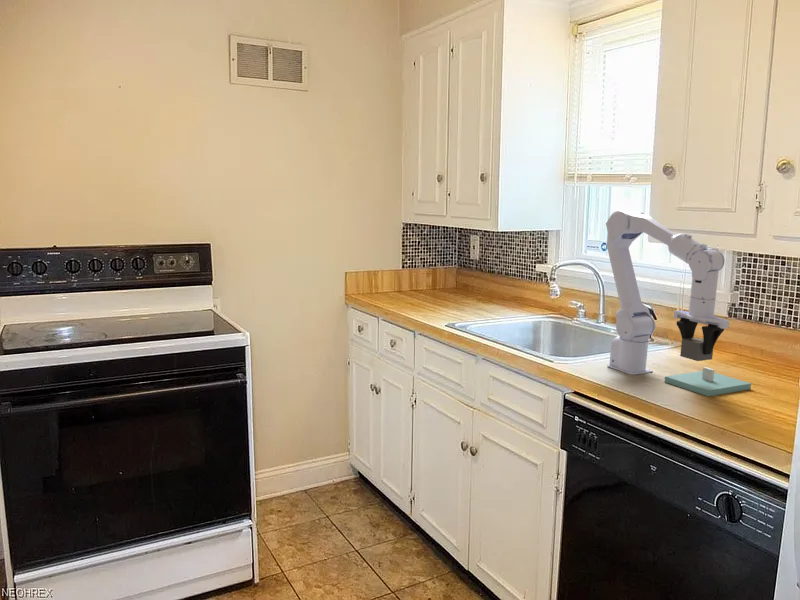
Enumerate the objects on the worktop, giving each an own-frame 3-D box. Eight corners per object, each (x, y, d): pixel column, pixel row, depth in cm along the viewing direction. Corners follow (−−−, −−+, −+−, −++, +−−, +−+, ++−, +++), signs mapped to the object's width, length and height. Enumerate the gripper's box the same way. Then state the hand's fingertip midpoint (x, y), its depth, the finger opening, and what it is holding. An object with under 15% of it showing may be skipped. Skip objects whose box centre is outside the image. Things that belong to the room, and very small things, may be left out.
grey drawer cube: (680, 356, 163) (682, 337, 162) (694, 354, 166) (696, 336, 165) (697, 361, 159) (699, 342, 158) (712, 359, 161) (714, 340, 160)
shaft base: (664, 381, 168) (666, 365, 167) (705, 375, 175) (707, 359, 174) (708, 396, 156) (710, 378, 155) (750, 389, 163) (752, 371, 163)
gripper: (667, 294, 164) (662, 346, 166) (717, 303, 151) (711, 359, 154) (686, 293, 167) (681, 343, 170) (737, 302, 155) (731, 357, 157)
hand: (697, 351), depth 162 cm, fingers closed on grey drawer cube, 5 cm apart
